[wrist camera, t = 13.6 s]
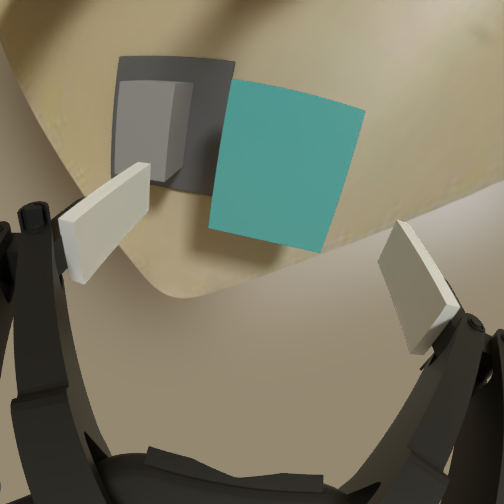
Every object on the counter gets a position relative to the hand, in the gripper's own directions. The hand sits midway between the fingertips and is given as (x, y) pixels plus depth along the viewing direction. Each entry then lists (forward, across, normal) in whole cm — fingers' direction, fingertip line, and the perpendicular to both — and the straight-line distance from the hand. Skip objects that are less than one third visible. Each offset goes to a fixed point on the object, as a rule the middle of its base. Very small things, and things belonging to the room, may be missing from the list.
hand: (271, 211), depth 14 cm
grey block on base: (+19, -13, 0) cm, 23 cm away
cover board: (+13, 0, -1) cm, 13 cm away
